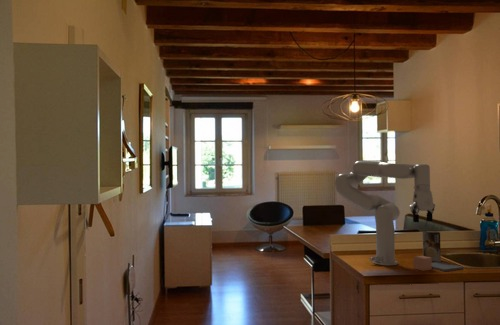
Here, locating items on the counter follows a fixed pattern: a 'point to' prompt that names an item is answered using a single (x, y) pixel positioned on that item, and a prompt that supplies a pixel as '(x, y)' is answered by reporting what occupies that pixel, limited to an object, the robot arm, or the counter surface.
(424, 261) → the terracotta cube
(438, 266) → the mat
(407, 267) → the counter surface
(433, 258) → the coffee box
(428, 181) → the robot arm
